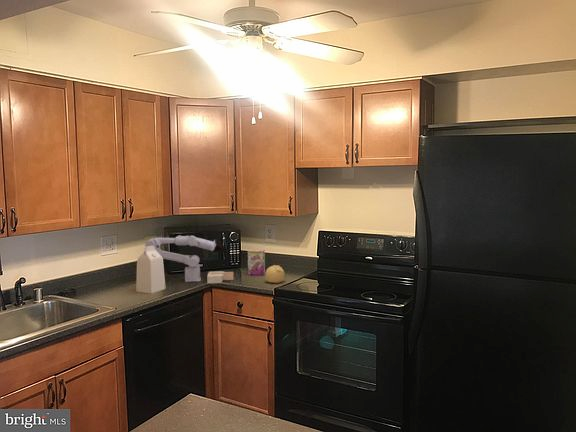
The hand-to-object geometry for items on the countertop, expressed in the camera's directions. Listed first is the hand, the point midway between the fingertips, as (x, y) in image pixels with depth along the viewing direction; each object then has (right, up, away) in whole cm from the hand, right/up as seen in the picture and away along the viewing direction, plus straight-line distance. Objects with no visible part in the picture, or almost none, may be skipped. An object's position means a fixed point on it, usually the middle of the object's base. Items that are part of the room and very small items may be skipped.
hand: (226, 249), depth 299 cm
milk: (-41, -22, -23) cm, 53 cm away
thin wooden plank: (-2, -19, -1) cm, 20 cm away
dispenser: (-7, -20, -1) cm, 21 cm away
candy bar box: (+18, -18, +16) cm, 30 cm away
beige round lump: (+31, -20, -7) cm, 38 cm away
